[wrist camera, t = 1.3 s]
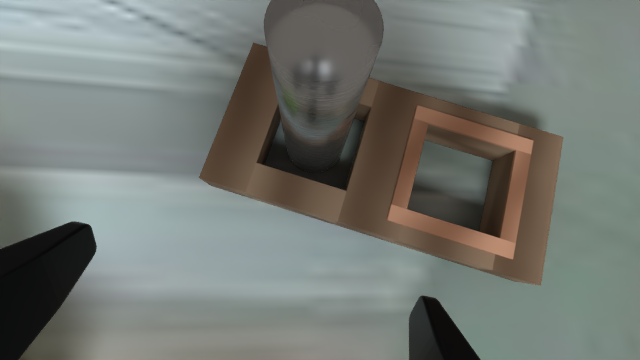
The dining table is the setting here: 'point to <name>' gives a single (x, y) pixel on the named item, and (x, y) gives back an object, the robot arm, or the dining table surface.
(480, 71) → the dining table surface
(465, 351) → the robot arm
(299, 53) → the peg
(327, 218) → the brown flat block
